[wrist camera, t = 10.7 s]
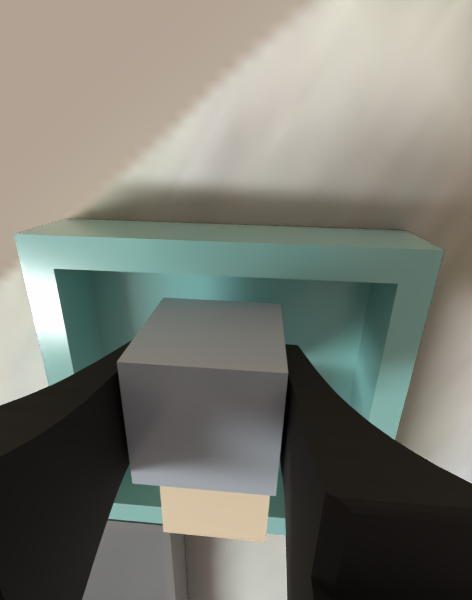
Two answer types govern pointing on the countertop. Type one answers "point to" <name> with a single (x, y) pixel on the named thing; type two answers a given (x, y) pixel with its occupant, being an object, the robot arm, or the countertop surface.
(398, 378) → the dish
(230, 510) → the tan rectangular block
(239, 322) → the light gray rectangular block
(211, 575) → the countertop surface
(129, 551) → the tray
